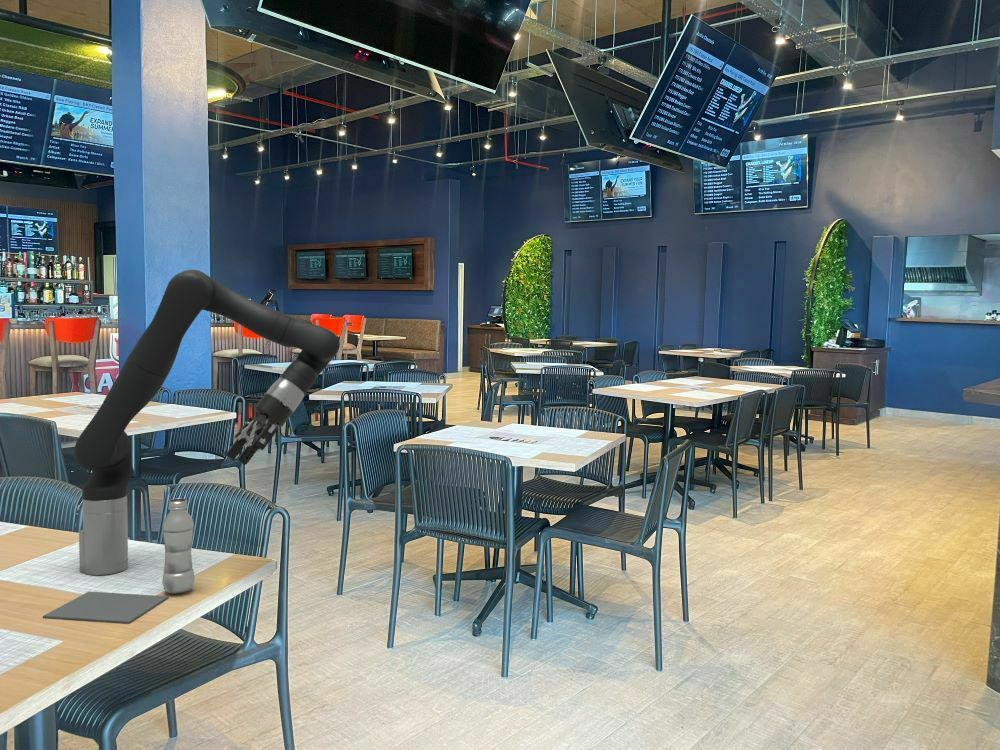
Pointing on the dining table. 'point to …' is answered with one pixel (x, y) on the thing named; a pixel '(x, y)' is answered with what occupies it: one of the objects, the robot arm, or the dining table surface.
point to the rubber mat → (107, 607)
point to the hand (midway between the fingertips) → (235, 460)
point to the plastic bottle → (178, 548)
